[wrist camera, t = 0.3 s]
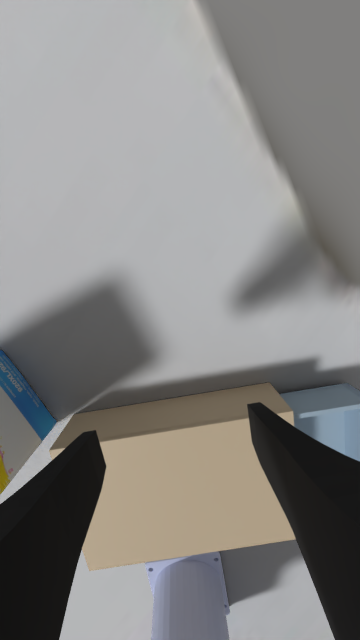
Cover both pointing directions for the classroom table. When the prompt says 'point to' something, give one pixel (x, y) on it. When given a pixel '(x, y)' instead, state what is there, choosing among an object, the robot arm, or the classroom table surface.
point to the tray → (329, 416)
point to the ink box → (19, 421)
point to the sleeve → (180, 478)
